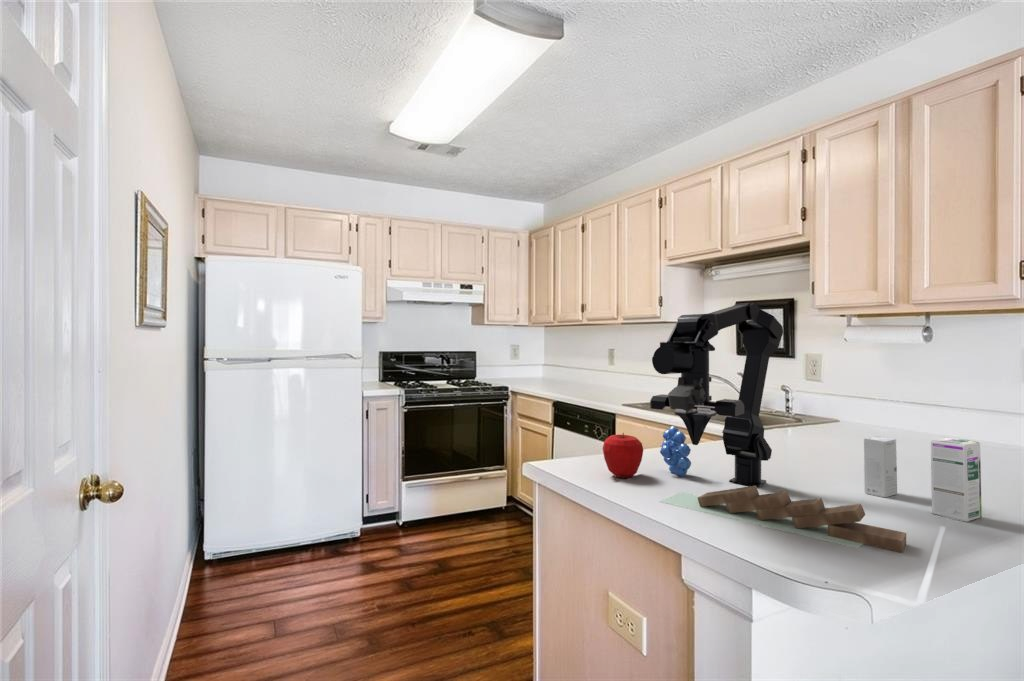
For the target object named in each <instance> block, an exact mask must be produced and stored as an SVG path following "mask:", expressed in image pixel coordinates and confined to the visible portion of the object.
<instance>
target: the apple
mask: <svg viewBox="0 0 1024 681" xmlns="http://www.w3.org/2000/svg"><path fill="white" fill-rule="evenodd" d="M602 452H603V458H604V461H605V463H606V467H607V469H608V471H609V472H610V473H611V474H612V475H613V476H614V477H616V478H623V479H624V478H625V479H630V478H633V476H634V475H636V474H637V472H638V471H639V468H640V465H641V464H642V460H643V456H644V447H643V443H642V442H641V441H640V440H639V439H638V438H637V437H636V436H633V435H629V434H625V433H624V432H622V434H612V435H610V436H608V437H607V438H605V440H604V442H603V446H602Z"/></svg>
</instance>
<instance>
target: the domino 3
mask: <svg viewBox="0 0 1024 681" xmlns="http://www.w3.org/2000/svg"><path fill="white" fill-rule="evenodd" d="M825 508H826V506H825V503H824V501H823V498H822V497H818V498H808V499H800V500H791V502H789V503H788V504H787V505H785V506H784V507H778V508H770V509H761V510H756V512H757V515H758V518H759V520H767V519H778V518H789V517H799V516H810V515H819V514H820V513H821V512H822V511H823V510H824V509H825Z"/></svg>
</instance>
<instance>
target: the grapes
mask: <svg viewBox="0 0 1024 681" xmlns="http://www.w3.org/2000/svg"><path fill="white" fill-rule="evenodd" d="M662 437H663V439H664V441H662V443H661V445H660V446H661V448H660V451H659V453H660V454H661V456H662V457H663V461H664V462H665V464H666V465H668V466H669V468H668V470H669V471H670V472H671V474H673V475H674V474H675V475H677V476H679V477H685V476H687V473H688V470H689V469H690V468H691V465H692V462H691V459H689V458H688V456H689V455H690V454H691V451H692V449H691V448H690V446H689V445H688V444H687V443H686V439H687V437H686V435H685V434H684V433H683V431H680V430H679V429H678V428H677V427H676V426H675V425H673V426H672V425H671V426H670V427H669V428H668V429H666V430H665V431H664V432H663V434H662Z"/></svg>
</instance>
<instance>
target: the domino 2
mask: <svg viewBox="0 0 1024 681" xmlns="http://www.w3.org/2000/svg"><path fill="white" fill-rule="evenodd" d="M791 501H792V500H791V497H790V493H789V491H788V490H785V491H779V492H771V493H763V494H759V496H757V497H755V498H754V499H752V500H750V501H742V502H734V503H726V506H727V509H728V512H729V513H736V512H745V511H753V510H761V509H770V508H778V507H784V506H785V505H787V504H788V503H789V502H791Z"/></svg>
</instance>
